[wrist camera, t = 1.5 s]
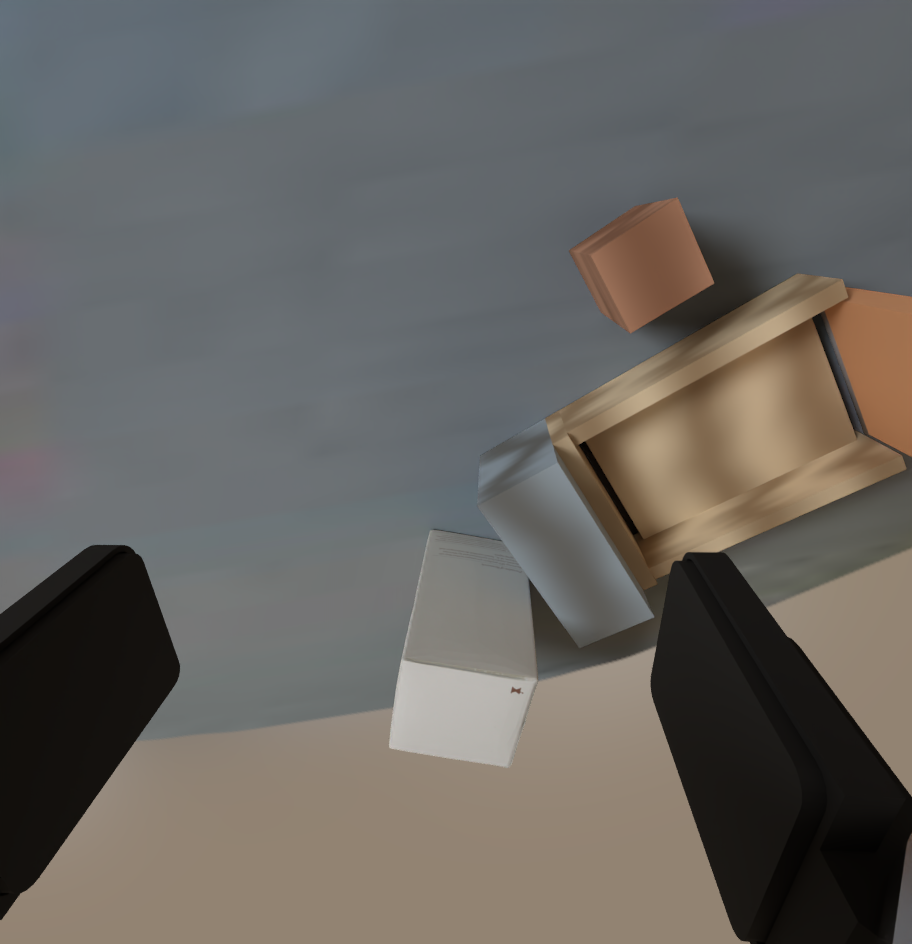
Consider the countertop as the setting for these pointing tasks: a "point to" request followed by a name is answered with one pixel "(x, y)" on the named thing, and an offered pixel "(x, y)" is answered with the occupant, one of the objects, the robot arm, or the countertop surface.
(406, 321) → the countertop surface
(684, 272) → the block
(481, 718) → the supplement box
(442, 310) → the countertop surface
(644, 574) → the truck bed
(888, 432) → the panel
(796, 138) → the countertop surface
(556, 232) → the countertop surface
